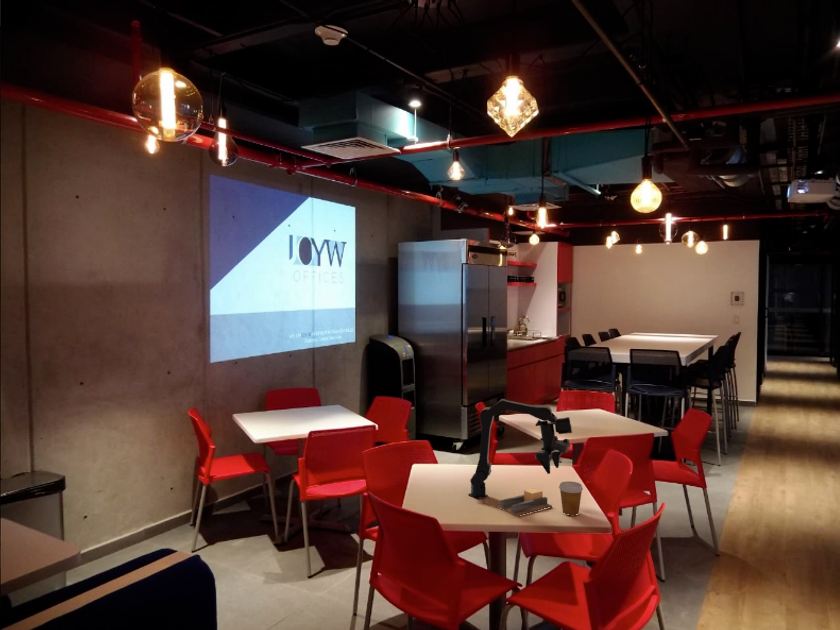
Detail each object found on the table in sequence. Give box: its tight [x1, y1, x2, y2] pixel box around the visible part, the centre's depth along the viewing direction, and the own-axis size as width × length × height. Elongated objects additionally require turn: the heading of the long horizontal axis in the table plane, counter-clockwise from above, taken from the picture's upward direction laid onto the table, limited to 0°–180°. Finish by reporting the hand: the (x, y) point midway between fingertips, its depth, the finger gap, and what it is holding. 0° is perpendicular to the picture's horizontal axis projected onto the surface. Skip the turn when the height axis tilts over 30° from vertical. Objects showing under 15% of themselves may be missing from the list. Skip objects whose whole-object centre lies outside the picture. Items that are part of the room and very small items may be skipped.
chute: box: [495, 494, 553, 517], centre depth 248 cm, size 14×19×4 cm
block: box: [523, 487, 544, 502], centre depth 251 cm, size 5×6×5 cm
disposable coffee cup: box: [558, 480, 584, 515], centre depth 241 cm, size 10×10×12 cm
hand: (553, 470), depth 254 cm, fingers open, 9 cm apart
